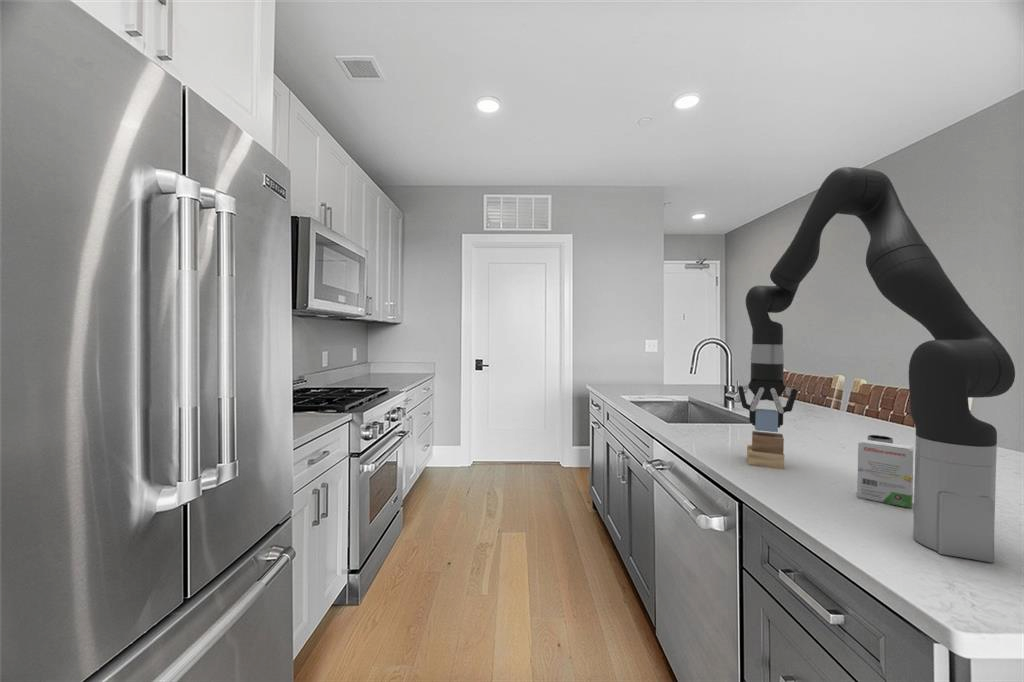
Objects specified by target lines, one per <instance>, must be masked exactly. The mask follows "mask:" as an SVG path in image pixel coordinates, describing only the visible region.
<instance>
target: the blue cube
mask: <svg viewBox="0 0 1024 682" xmlns="http://www.w3.org/2000/svg"><path fill="white" fill-rule="evenodd" d="M755 412H756V416H755V426H754V425H753V426H754V427H753V428H754V431H759V432H769V433H778V432H779V428H778V412H777V409H769V408H768V409H767V408H756V409H755Z"/></svg>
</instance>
